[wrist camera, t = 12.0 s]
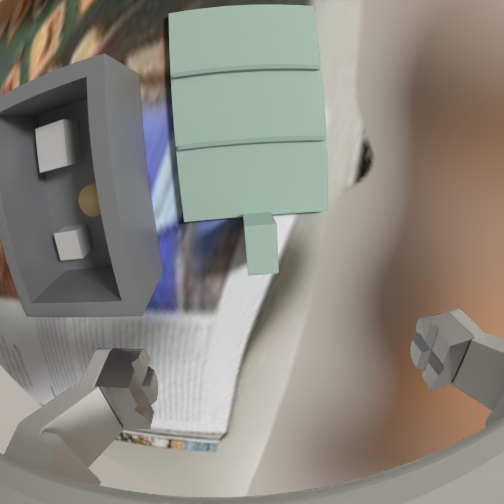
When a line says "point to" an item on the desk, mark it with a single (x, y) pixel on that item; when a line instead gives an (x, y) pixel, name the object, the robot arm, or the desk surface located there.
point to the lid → (249, 118)
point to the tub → (78, 193)
